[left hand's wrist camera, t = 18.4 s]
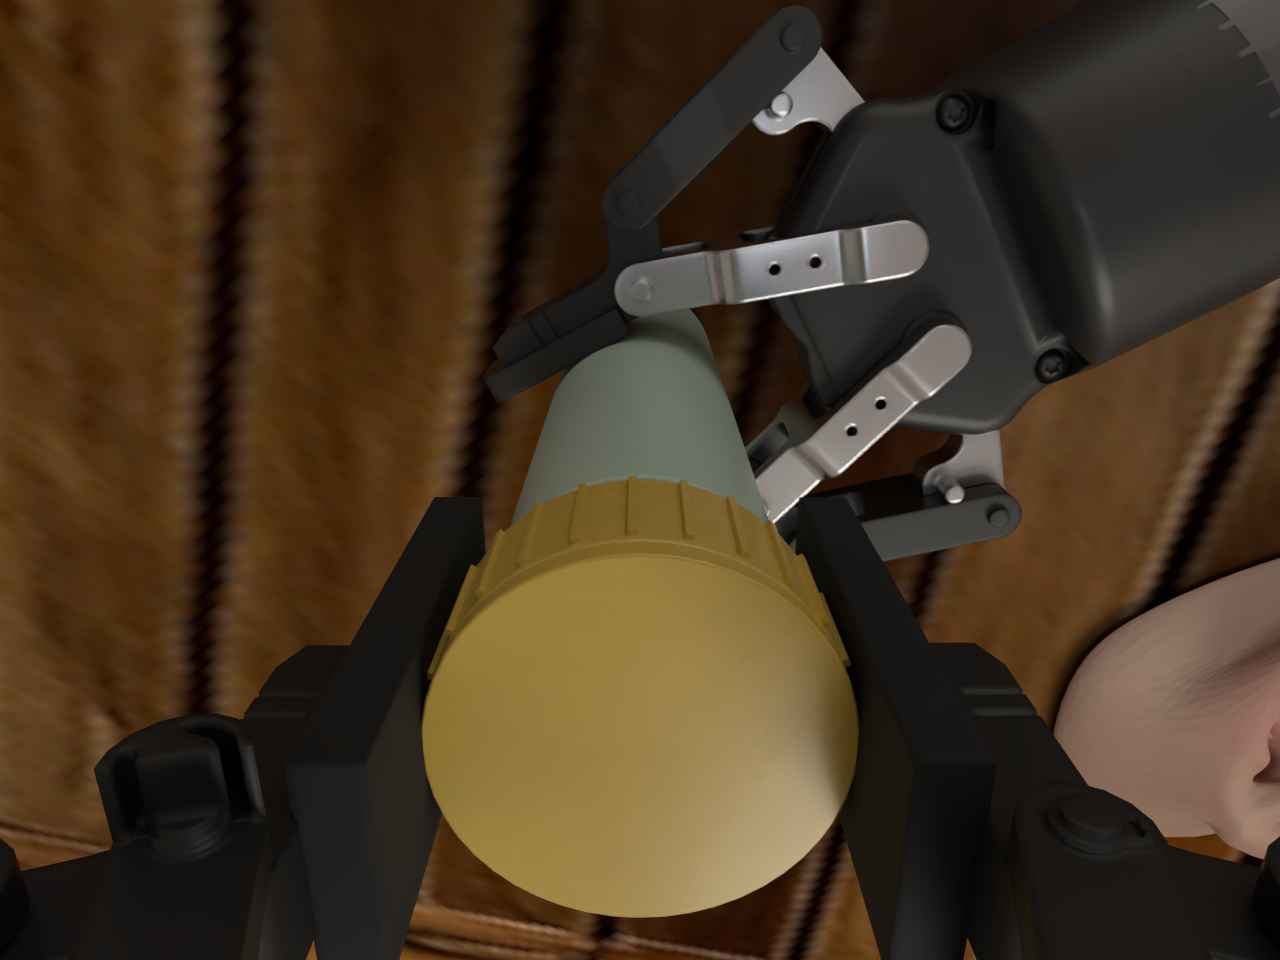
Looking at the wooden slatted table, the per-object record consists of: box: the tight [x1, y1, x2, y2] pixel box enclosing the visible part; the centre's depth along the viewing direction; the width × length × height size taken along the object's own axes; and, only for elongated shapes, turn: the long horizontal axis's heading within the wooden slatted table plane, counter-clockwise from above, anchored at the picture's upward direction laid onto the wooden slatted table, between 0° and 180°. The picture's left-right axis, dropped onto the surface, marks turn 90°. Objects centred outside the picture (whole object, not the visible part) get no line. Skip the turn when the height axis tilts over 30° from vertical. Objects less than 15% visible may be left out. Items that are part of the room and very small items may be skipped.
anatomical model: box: [1053, 558, 1280, 859], centre depth 32 cm, size 13×4×12 cm
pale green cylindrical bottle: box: [510, 309, 769, 527], centre depth 20 cm, size 4×4×19 cm
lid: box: [421, 476, 859, 918], centre depth 12 cm, size 5×5×2 cm
